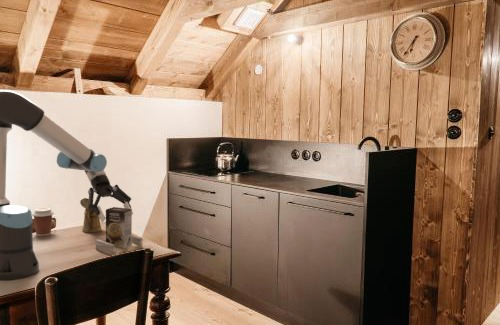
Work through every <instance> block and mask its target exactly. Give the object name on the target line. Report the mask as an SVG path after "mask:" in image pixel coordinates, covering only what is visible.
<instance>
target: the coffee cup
mask: <svg viewBox="0 0 500 325" xmlns="http://www.w3.org/2000/svg"><path fill="white" fill-rule="evenodd" d="M53 215H54V211H53V210H52V208H50V207H39V208H35V209H34V211H33V212H32V217H33V218H34V227H35V236H37V237H45V236H49V235H52V224H53V222H52V221H53V220H52V219H53Z"/></svg>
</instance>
